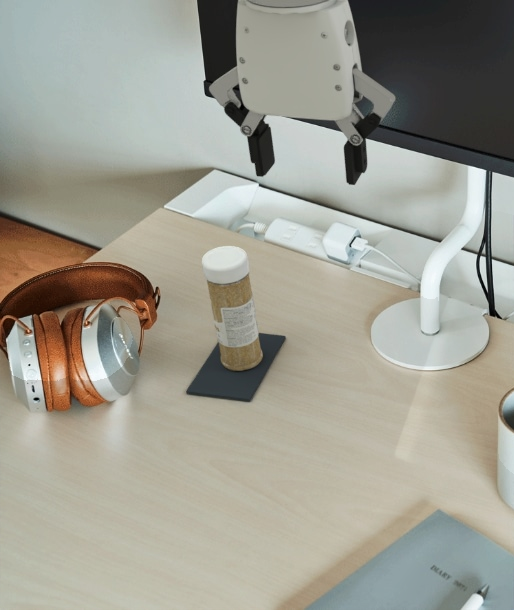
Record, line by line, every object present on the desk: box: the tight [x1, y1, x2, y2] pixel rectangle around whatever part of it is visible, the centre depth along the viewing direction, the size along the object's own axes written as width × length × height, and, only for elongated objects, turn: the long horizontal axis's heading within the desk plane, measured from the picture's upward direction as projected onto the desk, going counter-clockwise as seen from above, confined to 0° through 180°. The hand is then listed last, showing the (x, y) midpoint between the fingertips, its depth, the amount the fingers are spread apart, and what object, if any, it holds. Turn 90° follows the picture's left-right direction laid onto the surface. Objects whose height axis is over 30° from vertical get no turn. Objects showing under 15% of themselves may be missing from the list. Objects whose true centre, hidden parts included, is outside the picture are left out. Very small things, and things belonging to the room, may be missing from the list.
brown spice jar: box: [201, 245, 263, 371], centre depth 97 cm, size 5×5×14 cm
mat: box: [185, 332, 286, 403], centre depth 100 cm, size 7×11×1 cm, turn 170°
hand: (310, 173), depth 86 cm, fingers open, 8 cm apart
